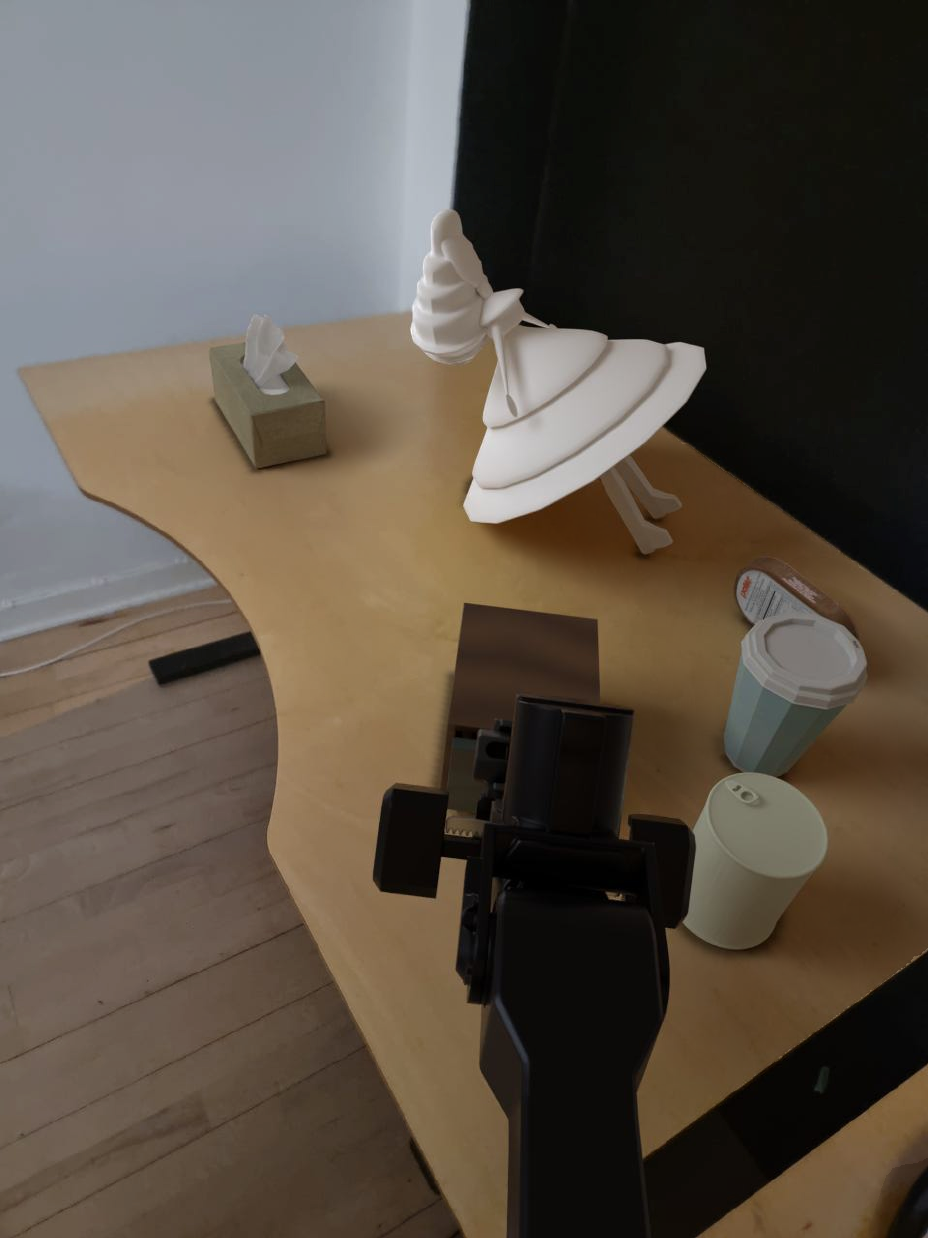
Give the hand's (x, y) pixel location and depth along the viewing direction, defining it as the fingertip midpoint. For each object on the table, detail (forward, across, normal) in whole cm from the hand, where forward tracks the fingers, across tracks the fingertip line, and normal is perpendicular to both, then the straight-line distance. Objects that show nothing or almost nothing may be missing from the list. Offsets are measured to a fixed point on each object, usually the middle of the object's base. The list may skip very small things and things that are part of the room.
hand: (523, 822), depth 59 cm
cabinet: (+22, 0, -3) cm, 22 cm away
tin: (+35, -29, -16) cm, 48 cm away
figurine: (+50, -1, -30) cm, 58 cm away
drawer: (+18, 0, 0) cm, 18 cm away
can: (+12, -18, +7) cm, 23 cm away
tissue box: (+57, +36, -37) cm, 77 cm away
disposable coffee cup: (+24, -24, -4) cm, 34 cm away
